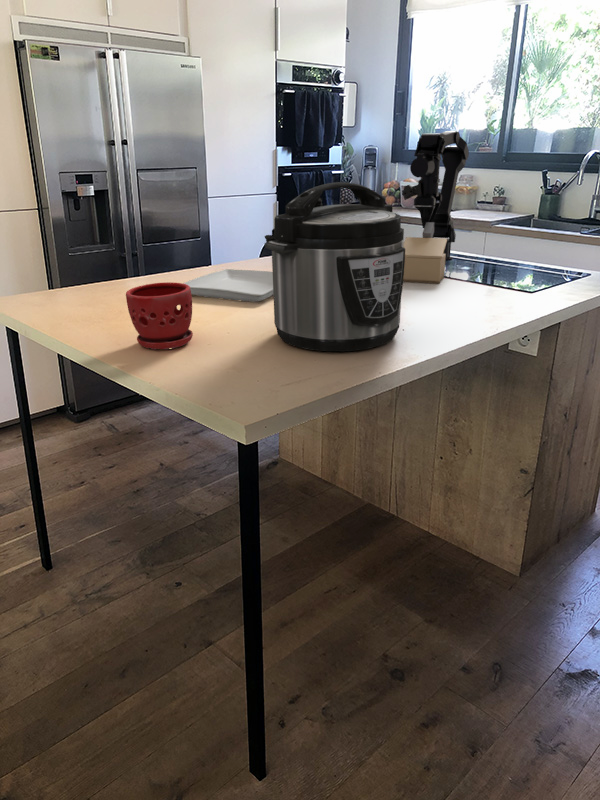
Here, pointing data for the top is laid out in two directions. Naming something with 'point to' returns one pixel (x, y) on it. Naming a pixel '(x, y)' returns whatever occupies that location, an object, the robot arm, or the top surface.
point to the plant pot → (161, 314)
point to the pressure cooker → (337, 271)
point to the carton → (424, 270)
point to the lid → (425, 244)
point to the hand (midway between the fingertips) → (426, 226)
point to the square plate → (234, 285)
